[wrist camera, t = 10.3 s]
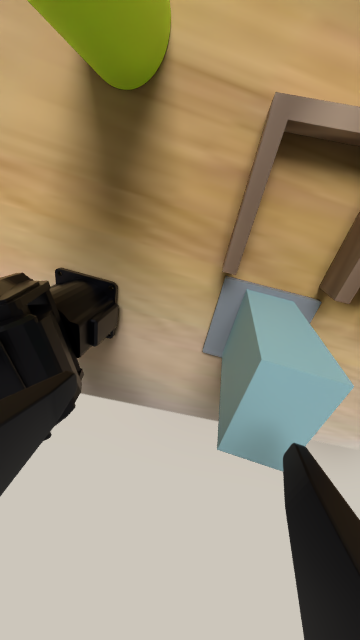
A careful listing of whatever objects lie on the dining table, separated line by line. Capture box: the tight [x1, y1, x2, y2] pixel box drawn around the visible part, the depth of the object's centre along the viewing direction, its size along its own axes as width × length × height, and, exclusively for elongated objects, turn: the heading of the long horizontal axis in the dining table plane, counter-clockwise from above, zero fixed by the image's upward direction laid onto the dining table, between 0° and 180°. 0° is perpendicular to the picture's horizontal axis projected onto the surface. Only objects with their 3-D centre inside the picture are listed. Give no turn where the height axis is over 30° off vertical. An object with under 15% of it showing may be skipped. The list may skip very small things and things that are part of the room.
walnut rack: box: [222, 92, 360, 304], centre depth 14 cm, size 14×10×3 cm
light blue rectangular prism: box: [217, 289, 354, 471], centre depth 15 cm, size 4×7×10 cm, turn 169°
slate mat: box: [202, 276, 322, 358], centre depth 20 cm, size 8×8×1 cm
